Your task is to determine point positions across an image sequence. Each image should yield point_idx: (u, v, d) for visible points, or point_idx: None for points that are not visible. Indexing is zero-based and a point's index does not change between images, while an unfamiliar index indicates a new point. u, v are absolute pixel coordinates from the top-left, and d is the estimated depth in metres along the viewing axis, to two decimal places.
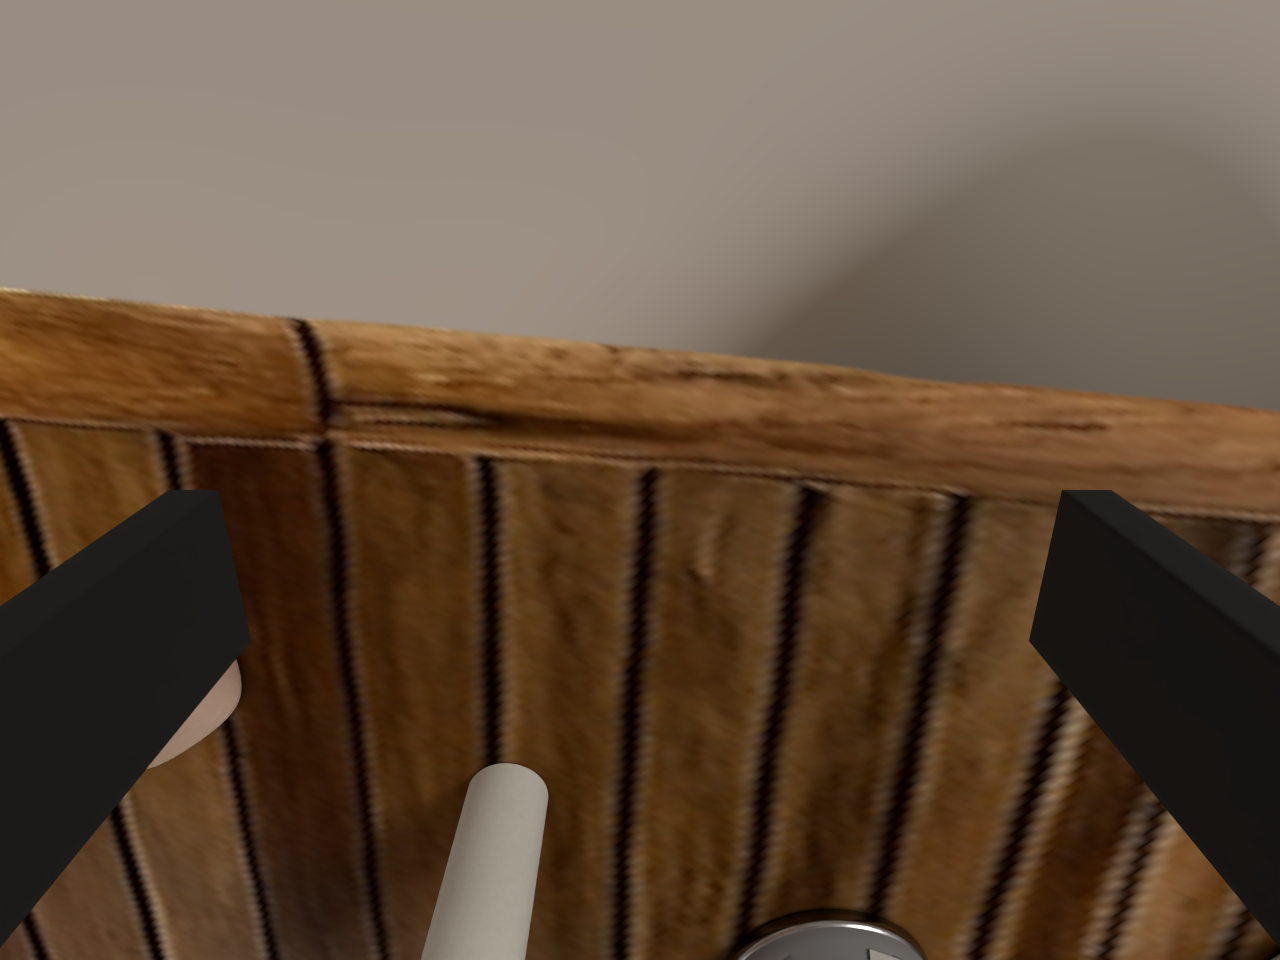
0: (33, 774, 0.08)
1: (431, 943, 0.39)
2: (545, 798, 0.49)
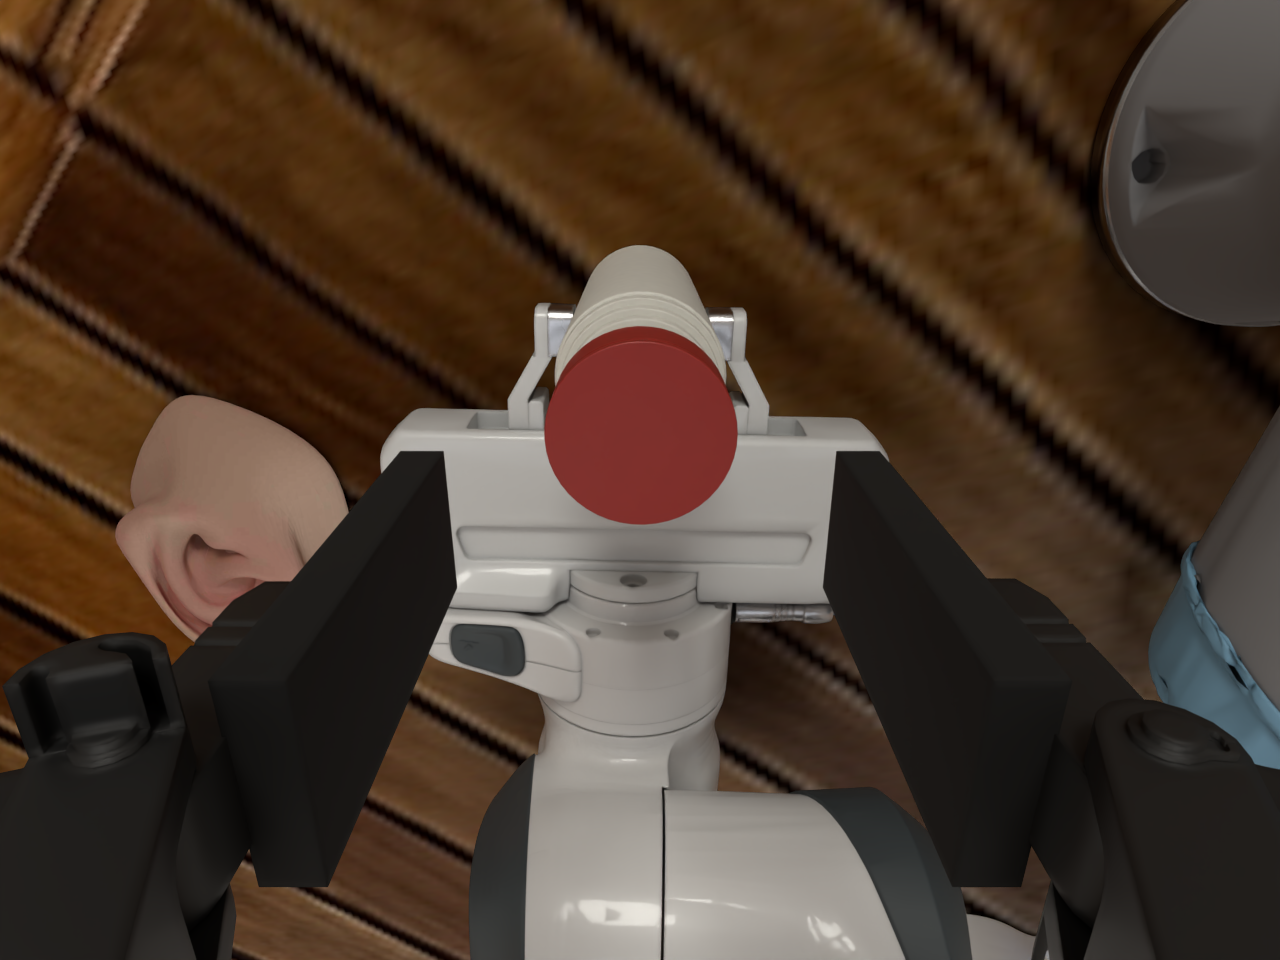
0: (371, 674, 0.10)
1: None
2: (664, 252, 0.35)
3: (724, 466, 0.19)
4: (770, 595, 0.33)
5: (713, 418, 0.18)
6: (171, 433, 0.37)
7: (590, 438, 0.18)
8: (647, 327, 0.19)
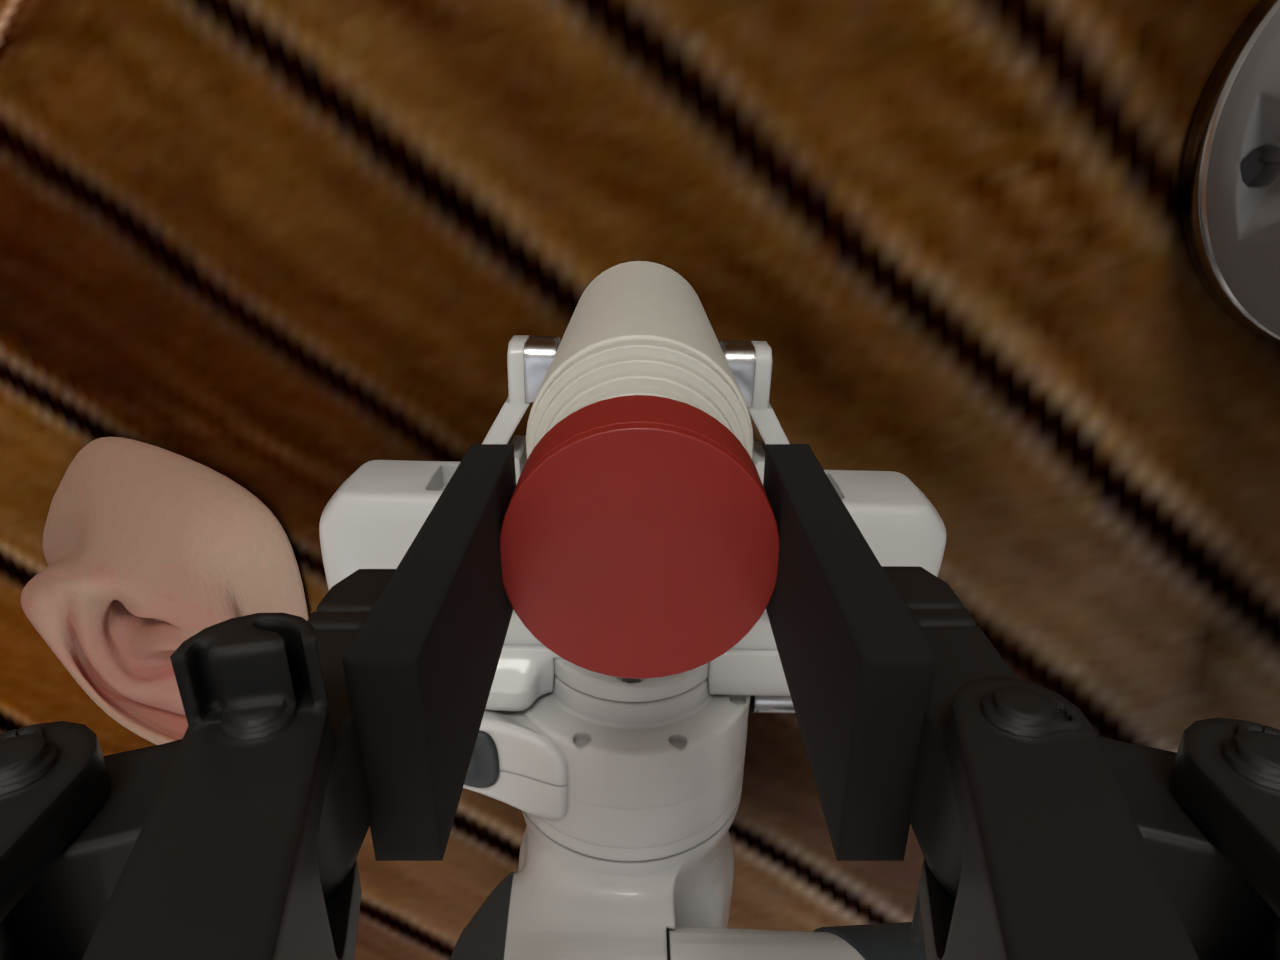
0: (468, 658, 0.10)
1: None
2: (668, 270, 0.29)
3: (760, 601, 0.13)
4: None
5: (745, 535, 0.12)
6: (85, 482, 0.32)
7: (566, 563, 0.13)
8: (649, 398, 0.13)
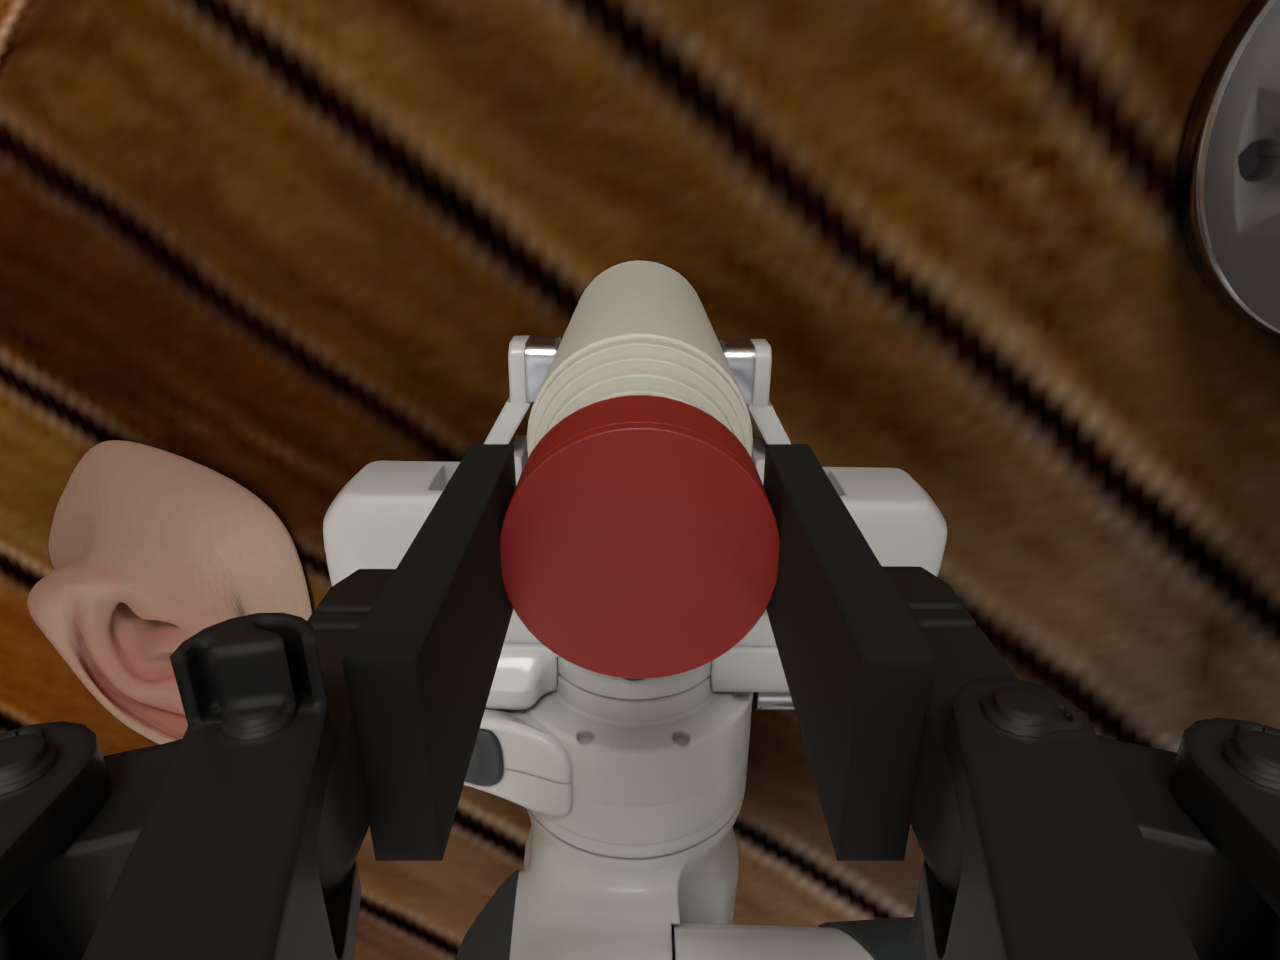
0: (467, 658, 0.10)
1: None
2: (668, 269, 0.29)
3: (626, 438, 0.12)
4: None
5: (566, 486, 0.12)
6: (90, 485, 0.32)
7: (671, 618, 0.13)
8: None
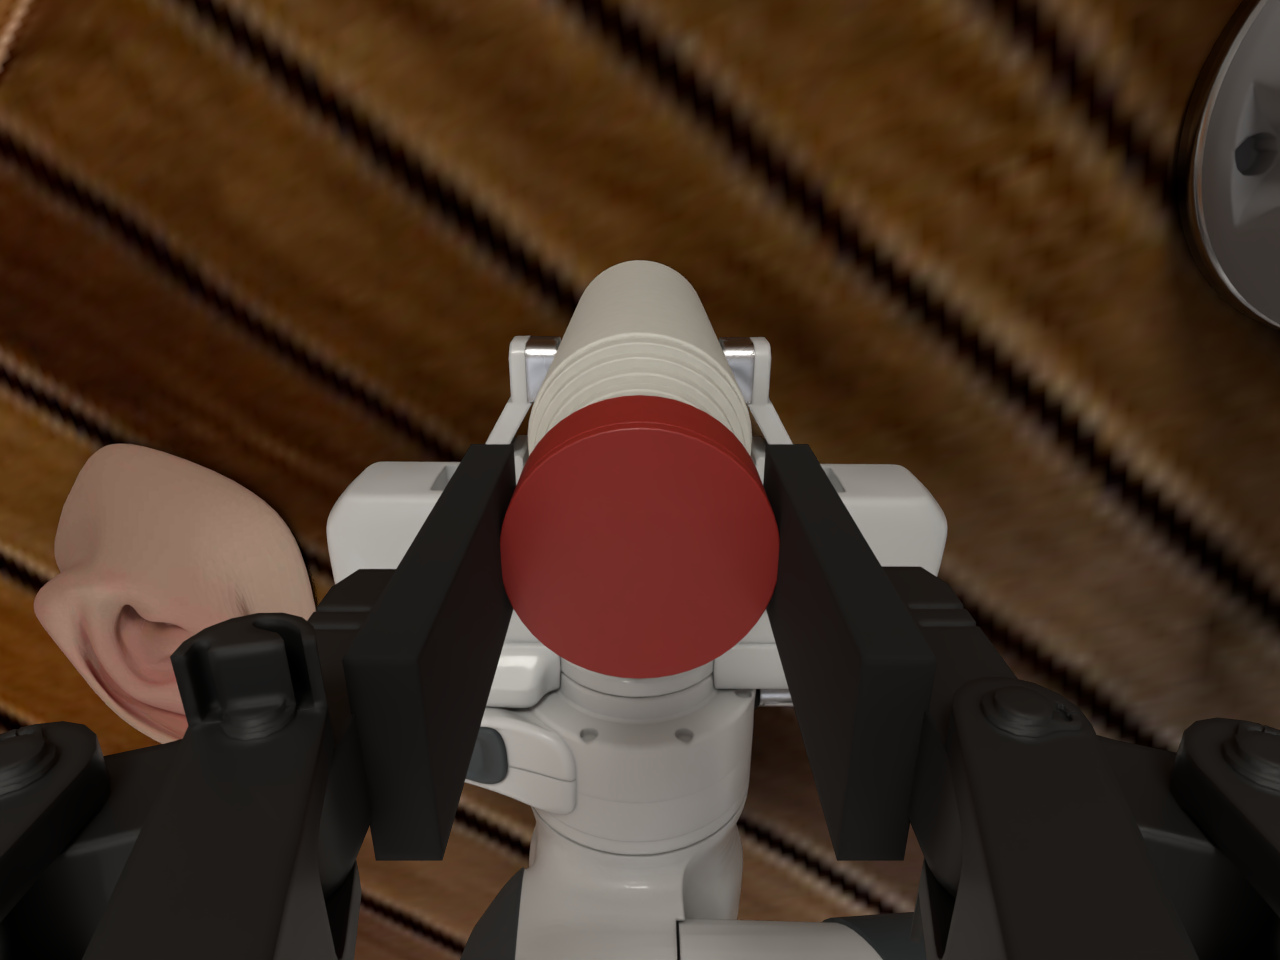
0: (468, 658, 0.10)
1: None
2: (667, 269, 0.29)
3: (530, 620, 0.13)
4: None
5: (597, 645, 0.13)
6: (95, 489, 0.32)
7: (686, 509, 0.12)
8: None
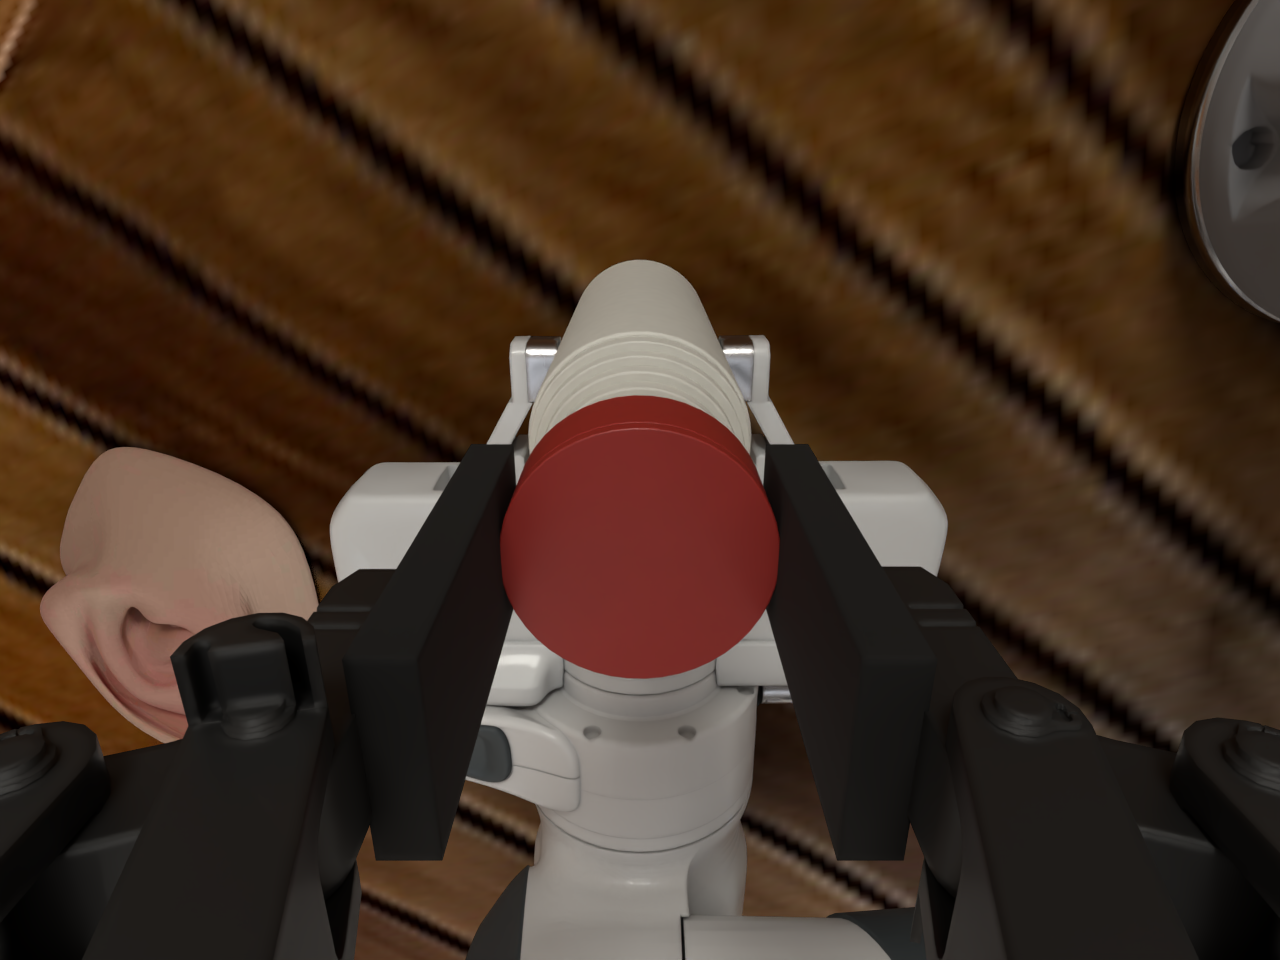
0: (467, 658, 0.10)
1: None
2: (667, 268, 0.29)
3: (744, 626, 0.13)
4: None
5: (747, 560, 0.13)
6: (100, 492, 0.32)
7: (567, 547, 0.12)
8: (682, 404, 0.13)
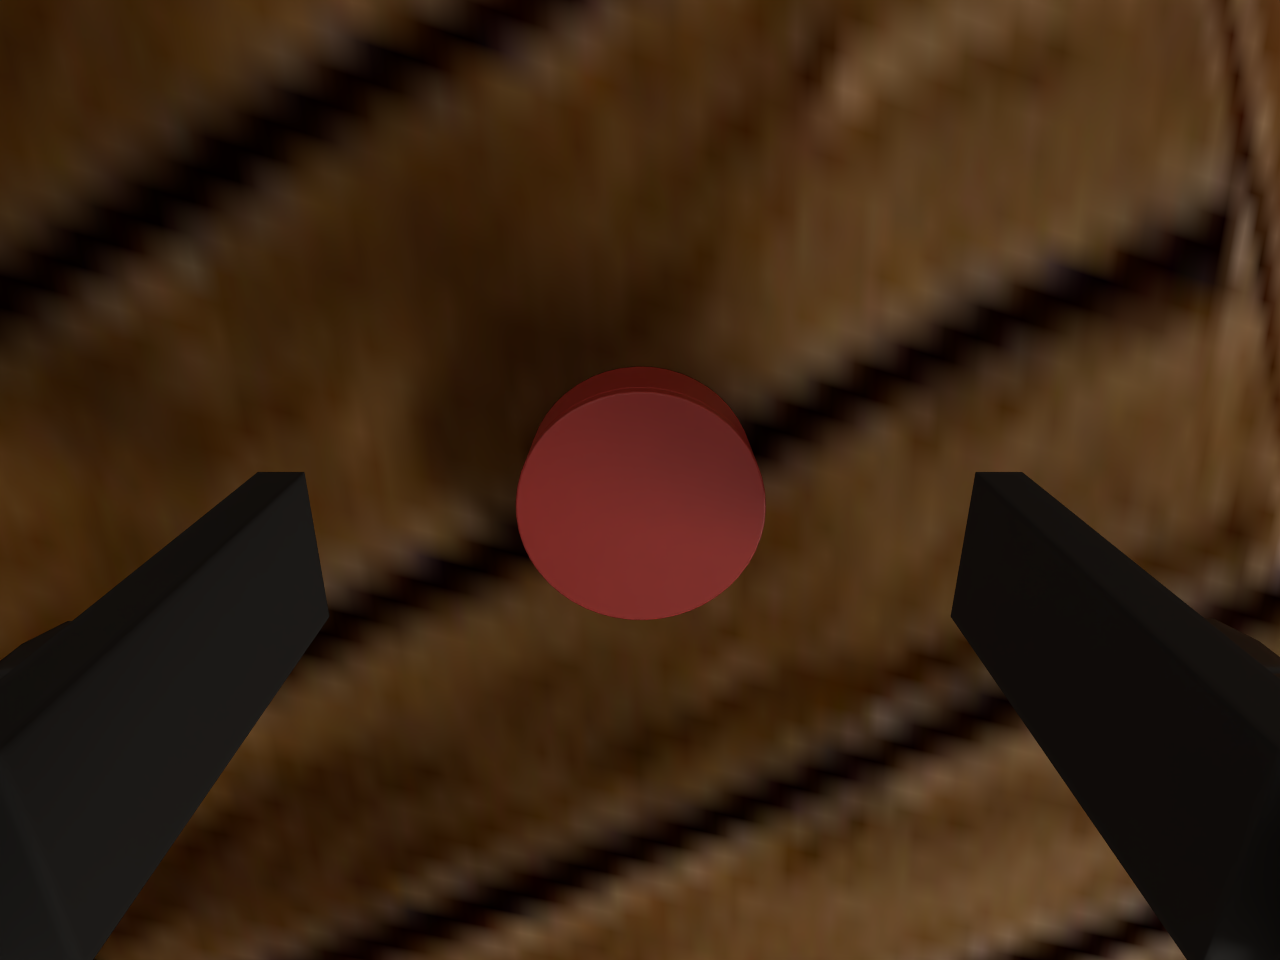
0: (168, 727, 0.09)
1: None
2: None
3: (733, 571, 0.15)
4: None
5: (736, 511, 0.14)
6: None
7: (576, 499, 0.14)
8: (678, 374, 0.15)
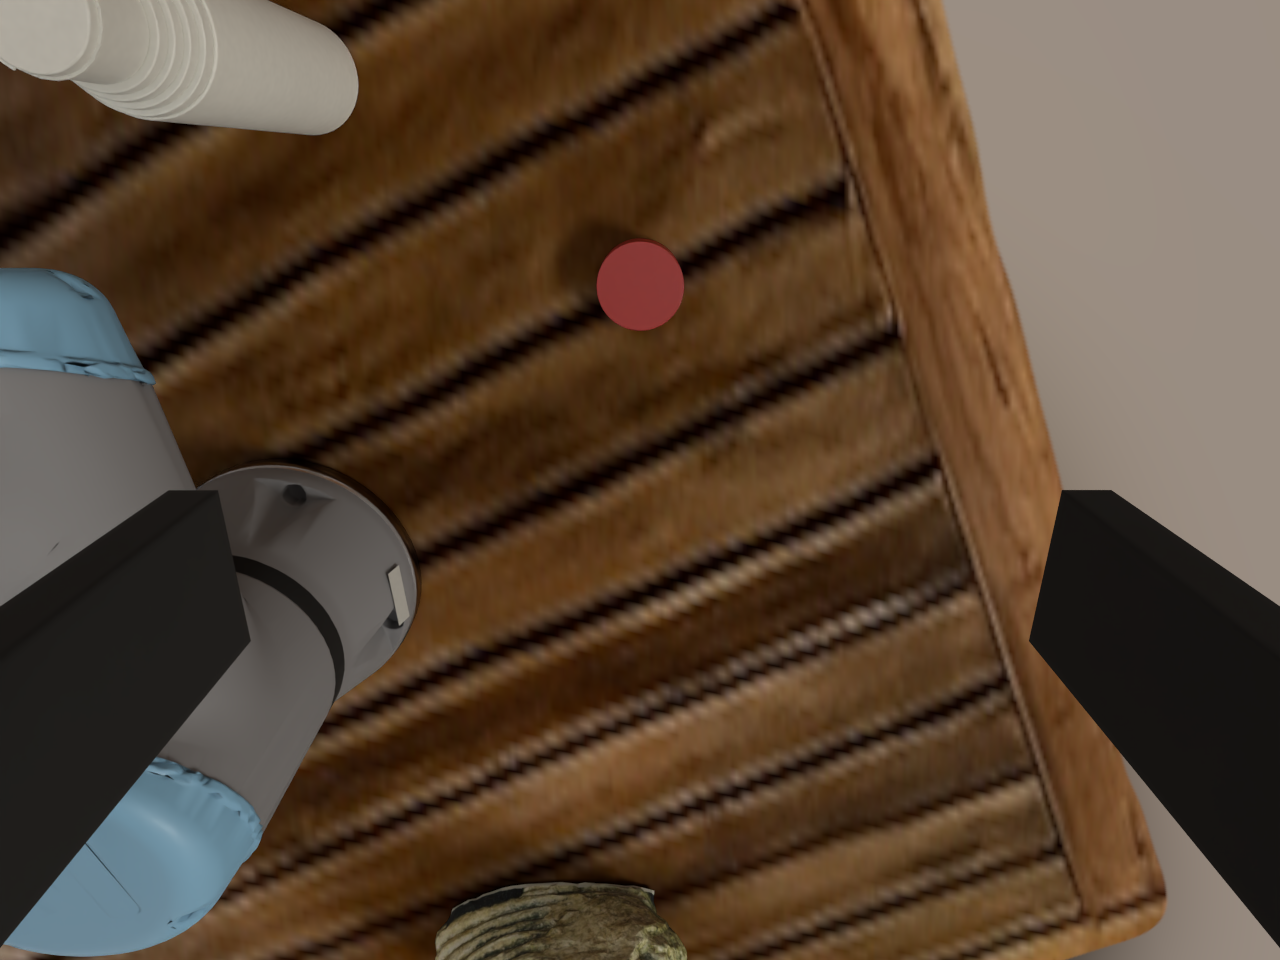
0: (33, 774, 0.08)
1: None
2: (339, 120, 0.38)
3: (673, 310, 0.41)
4: None
5: (673, 286, 0.41)
6: None
7: (617, 281, 0.40)
8: None
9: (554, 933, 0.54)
